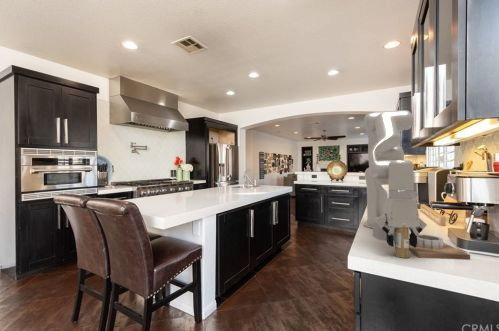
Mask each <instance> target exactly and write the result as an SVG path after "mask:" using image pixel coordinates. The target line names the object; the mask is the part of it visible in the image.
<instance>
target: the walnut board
mask: <svg viewBox="0 0 499 331" xmlns="http://www.w3.org/2000/svg"><path fill="white" fill-rule="evenodd" d="M394 243H395V240H394ZM409 253H411V254H413V255H414V256H416V257H418V258H420V259H421V258H423V259H424V258H425V259H447V260H448V259H452V260H471V254H469V253H467V252H465V251H463V250H460V249H458V248H456V247H454V246H451V245H450V244H447V243H445V242H443V249H440V250H435V249H426V248H422V247H418V246H416V247H413V246H411V245H410V244H409Z"/></svg>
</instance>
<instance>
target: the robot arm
mask: <svg viewBox="0 0 499 331" xmlns="http://www.w3.org/2000/svg"><path fill="white" fill-rule="evenodd" d="M363 125H364V129H365V131H366V135H367V140H368V142H367V147H368V148H367V158H368V167H367V168H366V169H365V170H364V179H365V185H366V202H367V203H366V208H367V209H366V211H367V212H366V213H367V215H366V217H367V221H365V222H364V223H363V225H364V226H365V227H366V228H369V229H373V219H374V217H379V216H382V217H383V218H382V219H381V220H379V221H378V222H377V224H378V225H379V226H380V227H381V229H382V230H384V231H385V233H387V240H386V243H387V244H388V246H390V247H392V248H393V247H395V242H394V236H393V235H392V233H393V231H394V229H395V228H401V227H404V226H403V225H404V224H403V223H406V224H405V227H406V228H408V230H409V231H410V232H409V244H410V245H411V246H413V247H416V244H417V236H418V235H419V234H420V233H421V232H422V231H423V230H424V229H425V228H426V227H427V226H428V224H427V223H426V222H424V220H423V219H421V218H420V214H419V207H418V202H417V200H416V199H414V198H415V197H417V196H418V195H419V194H418V192H417V191H415V190H414V189H415V188H414V180H415V179H414V164H413V161H411V160H409V159H405V153H404V149H403V148H402V147H401V146H400V143H401V142H402V136H401V134H400V133H401V132H400V131H408V130H410V129H411V128H412V127H413V126H414V116H413V114H412V112H411V111H410V110H403V109H401V110H400V109H399V110H387V111H385V110H384V111H375V112H370V113H366V114H365V116H364V118H363ZM386 185H388V192H387V190H386V189H385V188H384V187H383V186H386ZM383 224H386V225H388V226H387V228H386V227H385V226H384V225H383Z"/></svg>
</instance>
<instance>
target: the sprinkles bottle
mask: <svg viewBox="0 0 499 331" xmlns="http://www.w3.org/2000/svg"><path fill="white" fill-rule="evenodd" d="M403 224H404V225H403V226H404V227H401V228H395V229H394V230H395V231H394V240H395V242H394V255H395V256H396V257H397V258H403V259H408V258H410V251H409V234H410V232H409V231H410V230H409V228H406V227H405V224H406V223H403Z"/></svg>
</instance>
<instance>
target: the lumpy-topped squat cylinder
mask: <svg viewBox="0 0 499 331" xmlns="http://www.w3.org/2000/svg"><path fill="white" fill-rule="evenodd" d="M382 218H383V217H382V216H379V217H374V219H373V228H372V236H373V237H374V238H375V239H376V240H380V241H387V233H385V231H384V230H382V229H381V227H380V226H379V225H378V224H377V222H378V221H379V220H381V219H382ZM383 225H384V226H385V227H386V228H387V226H388V225H386V224H383ZM394 231H395V230H394ZM394 231H393V233H392V235H393V236H394Z"/></svg>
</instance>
